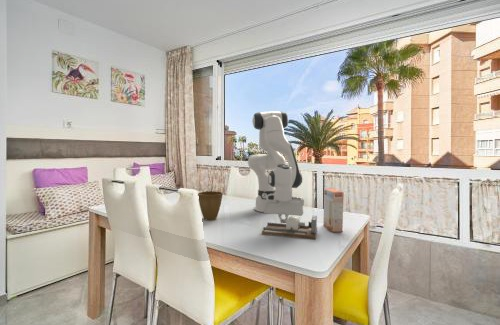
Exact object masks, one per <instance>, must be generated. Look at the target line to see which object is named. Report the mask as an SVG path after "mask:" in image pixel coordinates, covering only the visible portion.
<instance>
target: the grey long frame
mask: <svg viewBox="0 0 500 325" xmlns="http://www.w3.org/2000/svg"><path fill="white" fill-rule="evenodd" d="M317 219H318V215H312V217H311V221H308V225H305V226H300V227H299V228H307V229H309V228H311V234H316V235H317V232H316V230H317V231H318V226H317V225H318V224H317V223H318V222H317V221H318V220H317ZM267 225H272V226H283V227H286V223H278V222H267V223H266V226H267ZM266 226H263V228H262V231H263V230H273V231H284V232H295V233H305V234H307V231H303V230H290V229H280V228H269V227H266Z"/></svg>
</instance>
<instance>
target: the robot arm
mask: <svg viewBox="0 0 500 325" xmlns="http://www.w3.org/2000/svg"><path fill="white" fill-rule="evenodd" d="M288 115H289V114H288V113H287V112H286V111H275V110H273V111H262V112H260V111H259V112H256V113H253V117H252V121H251V122H252V125H253V128H254V129H255V130H259V132H258V133H259V134H258V136H259V137H258V141H259V142H258V144H259V145H258V146H259V148H260V149H261V150H262V151H264V152H266V153H264V154H262V153H256V154H251V155H250V156H249V157H248V160H247V164H248V167H249V168H250V170H252V171H253V172H254V173H255V175H256V176H257V182H258V190H257V197H256V198H255V207H253V210H254V211H257V212H260V213H265V214H271V215H272V214H273V215H277V216H278V218H279V222H280V224H286V219H287V218H288V217H290V216H296V217H301V216H303V215H304V205H305V199H304V198H303V197H301V196H293V189H298V188H299V187H300V186H301V185H302V184H303V176H302V172H301V170H300V168H299V165H298V161H297V159H296V154H295V151H294V147H293V145H292V143H290V142H289V141H288V139H287V138H286V136H285V130H284V129H285V128H287V127H288V126H289V116H288ZM285 157H286V158H285ZM286 161H287V163H286ZM266 171H270V172H269V173H267V172H266ZM282 215H284V216H285V217H284V218H283V217H282Z"/></svg>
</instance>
